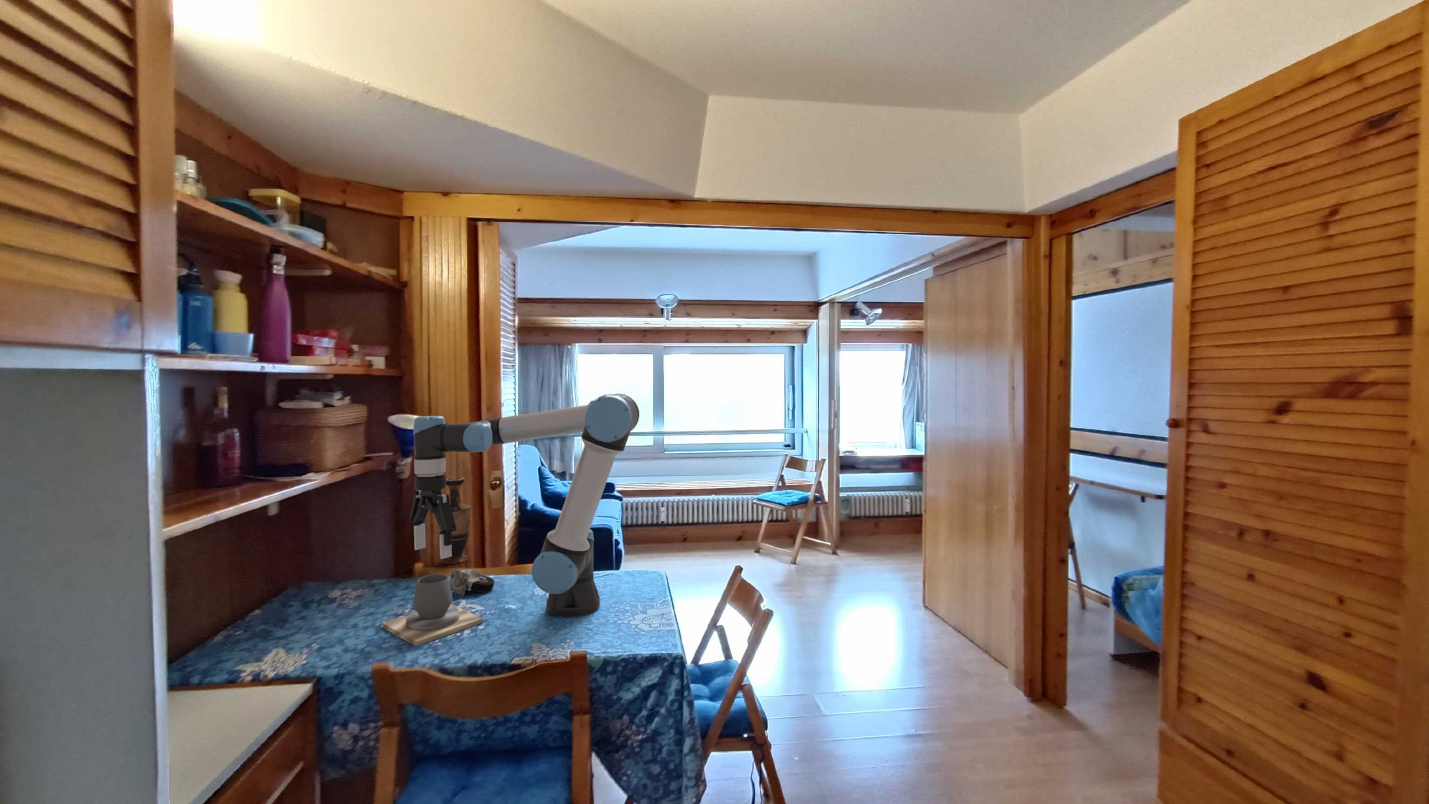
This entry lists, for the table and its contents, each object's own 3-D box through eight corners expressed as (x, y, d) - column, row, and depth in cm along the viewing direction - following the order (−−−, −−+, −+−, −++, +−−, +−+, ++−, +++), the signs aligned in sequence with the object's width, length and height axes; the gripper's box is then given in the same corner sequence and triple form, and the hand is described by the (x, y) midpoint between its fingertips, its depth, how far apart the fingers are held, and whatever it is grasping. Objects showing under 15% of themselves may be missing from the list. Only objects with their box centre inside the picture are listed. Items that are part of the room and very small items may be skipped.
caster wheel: (496, 595, 188) (473, 602, 179) (469, 583, 192) (445, 589, 183) (501, 575, 188) (479, 580, 179) (474, 563, 192) (451, 568, 183)
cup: (412, 625, 153) (411, 586, 153) (414, 611, 162) (414, 575, 162) (452, 619, 157) (451, 582, 157) (452, 606, 166) (452, 571, 165)
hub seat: (482, 622, 161) (482, 613, 161) (416, 646, 147) (415, 636, 147) (447, 606, 172) (447, 597, 172) (382, 627, 158) (382, 617, 158)
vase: (442, 557, 219) (440, 476, 218) (473, 555, 222) (472, 475, 220) (436, 566, 208) (434, 481, 207) (469, 564, 211) (467, 480, 210)
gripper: (469, 476, 153) (471, 557, 154) (421, 468, 169) (423, 542, 169) (441, 480, 147) (443, 565, 148) (394, 471, 163) (396, 548, 163)
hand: (432, 553), depth 159 cm, fingers open, 13 cm apart
